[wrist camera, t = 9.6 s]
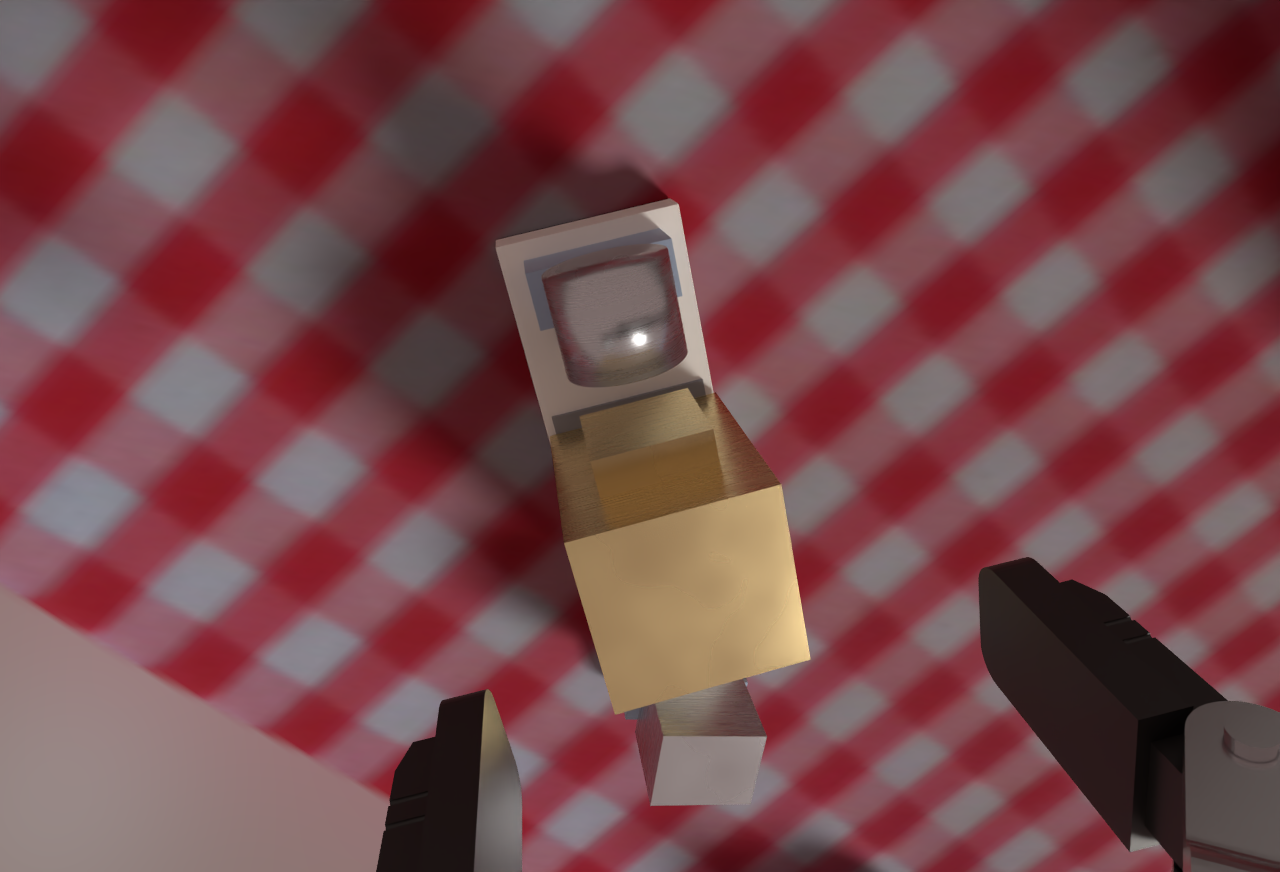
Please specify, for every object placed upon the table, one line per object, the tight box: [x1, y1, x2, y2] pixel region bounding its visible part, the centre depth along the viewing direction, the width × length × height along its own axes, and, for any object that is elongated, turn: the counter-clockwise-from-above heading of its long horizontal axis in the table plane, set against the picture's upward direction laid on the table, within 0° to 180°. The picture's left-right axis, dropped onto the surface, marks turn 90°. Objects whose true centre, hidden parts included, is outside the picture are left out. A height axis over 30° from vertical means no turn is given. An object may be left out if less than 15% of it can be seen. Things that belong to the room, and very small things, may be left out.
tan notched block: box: [550, 388, 810, 715], centre depth 18 cm, size 6×4×5 cm
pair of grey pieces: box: [541, 244, 767, 806], centre depth 18 cm, size 13×3×2 cm, turn 12°
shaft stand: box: [496, 199, 748, 719], centre depth 20 cm, size 13×4×2 cm, turn 12°
